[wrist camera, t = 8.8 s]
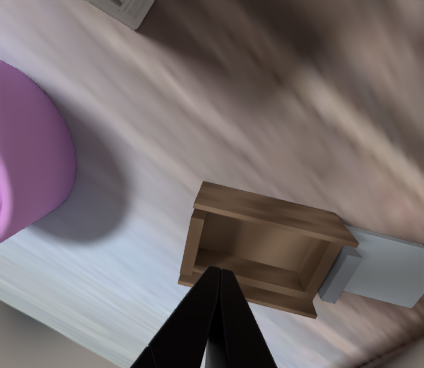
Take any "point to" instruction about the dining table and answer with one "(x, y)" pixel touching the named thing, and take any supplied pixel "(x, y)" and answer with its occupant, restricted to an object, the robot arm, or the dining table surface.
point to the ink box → (125, 10)
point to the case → (263, 246)
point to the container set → (31, 153)
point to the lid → (377, 270)
